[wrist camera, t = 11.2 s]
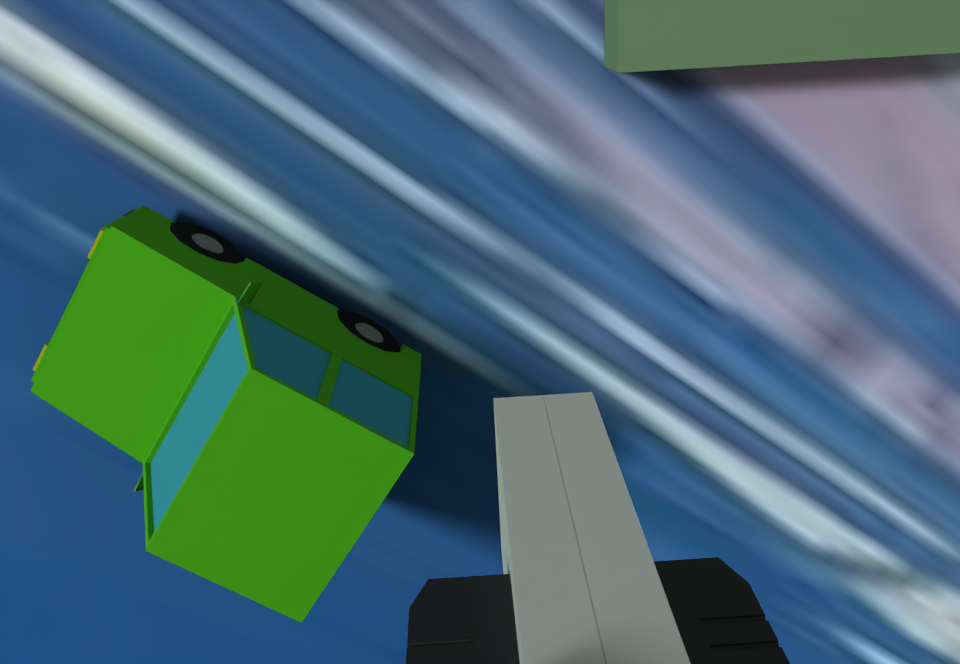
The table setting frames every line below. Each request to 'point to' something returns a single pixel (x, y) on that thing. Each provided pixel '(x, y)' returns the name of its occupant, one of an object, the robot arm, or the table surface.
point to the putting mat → (772, 31)
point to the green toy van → (233, 406)
